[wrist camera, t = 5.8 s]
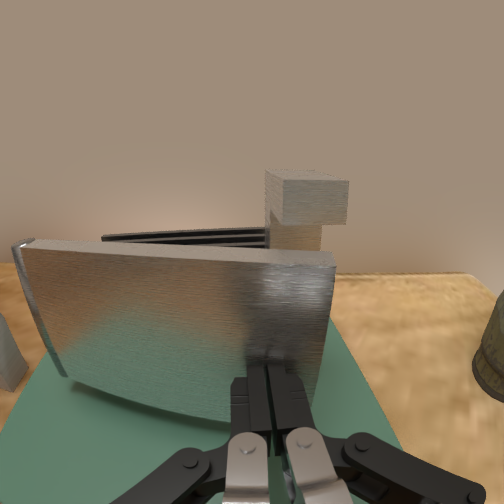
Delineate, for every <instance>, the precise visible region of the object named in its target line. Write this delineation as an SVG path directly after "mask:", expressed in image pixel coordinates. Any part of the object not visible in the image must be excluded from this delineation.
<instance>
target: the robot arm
mask: <svg viewBox="0 0 504 504" xmlns="http://www.w3.org/2000/svg"><path fill="white" fill-rule="evenodd" d="M246 370H247V377H235V378H234V380H233V382H232V384H231V386H230V404H231V405H230V409H231V435H230V438H229V440H228V441H227V442H226V443H225V444H224V445H222V446H221V447H219V448H216V449H212V450H209V451H205V452H203V451H202V450H200V449H197V448H192V447H187V448H183V449H180V450H178V451H177V452H176V453H174V454H173V455H172V456H171V457H170V458H168V459H167V460H166V461H165V462H164V463H162V464H161V465H160V466H159V467H157V468H156V469H155V470H154V471H152V472H151V473H150V474H149V475H147V476H146V477H145V478H144V479H142V480H141V481H140V482H138V483H137V484H136V485H134V486H133V487H132V488H130V489H129V490H128V491H126V492H125V493H124V494H122V495H121V496H119V497H118V498H117V499H115V500H114V501H112V502H111V503H109V504H206V503H207V502H208V501H209V500H210V499H211V498H212V497H213V496H214V495H215V494H217V493H221V492H224V494H223V501H222V504H270V501H269V490H268V457H270V450H271V436H272V440H273V448H274V455H275V456H281V462H282V467H281V472H282V476H283V480H284V485H285V489H286V493H287V497H288V501H289V504H353V501H352V498H351V496H350V493H351V494H353V495H355V496H356V497H358V498H360V499H362V500H363V501H365V502H367V503H369V504H484V502H485V499H486V491H485V489H484V487H483V486H482V485H480V484H478V483H476V482H473V481H470V480H468V479H465V478H462V477H460V476H457V475H455V474H452V473H450V472H448V471H445V470H443V469H441V468H438V467H436V466H434V465H432V464H429V463H427V462H425V461H423V460H421V459H419V458H417V457H414V456H412V455H410V454H408V453H406V452H404V451H402V450H400V449H398V448H396V447H394V446H392V445H391V444H389V443H387V442H385V441H383V440H381V439H379V438H377V437H376V436H374V435H372V434H370V433H367V432H358V433H354V434H352V435H351V436H349V437H348V438H347V439H345V438H333V437H328V436H325V435H323V434H322V433H320V432H319V431H318V430H317V428H316V427H315V424H314V420H313V417H312V413H311V409H310V406H309V402H308V399H307V395H306V392H305V388H304V384H303V381H302V380H301V378H300V377H299V376H298V375H297V374H296V373H292V374H286V372H285V368H284V364H283V363H277V364H267V366H266V384H265V377H264V370H263V365H246ZM349 492H350V493H349Z"/></svg>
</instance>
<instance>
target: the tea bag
mask: <svg viewBox="0 0 504 504" xmlns="http://www.w3.org/2000/svg"><path fill="white" fill-rule="evenodd" d="M27 370H28V366H27V364H26V362H25V360H24V358H23V357H22V355H21V353H20V351H19V349H18V347H17V345H16V343H15V340H14V338H13V336H12V334H11V332H10V330H9V327H8V325H7V323H6V320H5V318H4V317H3V315H2V314H1V313H0V388H2V389H5V390H7V391H10V392H14V390H15V389H16V387H17V385H18V384H19V382H20V380H21V379H22V377H23V376H24V374H25V373H26V371H27Z"/></svg>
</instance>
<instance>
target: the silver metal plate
mask: <svg viewBox="0 0 504 504" xmlns="http://www.w3.org/2000/svg"><path fill="white" fill-rule="evenodd" d="M11 250H12V253H13V258H14V261H15V265H16V269H17V272H18V276H19V279H20V282H21V285H22V288H23V291H24V294H25V297H26V300H27V303H28V306H29V308H30V311H31V314H32V316H33V319H34V321H35V324H36V326H37V329H38V331H39V333H40V336H41V338H42V340H43V342H44V345H45V347H46V349H47V351H48V353H49V355H50V357H51V359H52V361H53V363H54V365H55V367H56V369H57V371H58V373H59V375H60V376H62V377H65V378H68V377H69V378H71V379H74V380H76V381H78V382H81V383H83V384H86V385H88V386H91V387H94V388H96V389H99V390H102V391H105V392H107V393H110V394H113V395H116V396H119V397H122V398H125V399H129V400H132V401H135V402H139V403H142V404H146V405H149V406H153V407H157V408H160V409H164V410H168V411H173V412H177V413H181V414H186V415H191V416H196V417H201V418H206V419H212V420H218V421H225V422H231V409H230V405H231V404H230V386H231V384H232V382H233V380H234V378H235V377H247V370H246V365H263V370H264V377H265V384H266V366H267V364H277V363H283V364H284V368H285V372H286V374H292V373H296V374H297V375H298V376H299V377H300V378H301V380H302V381H303V384H304V388H305V392H306V395H307V399H308V402H309V406H310V409H311V407H312V403H313V399H314V394H315V390H316V385H317V381H318V376H319V371H320V367H321V362H322V356H323V351H324V346H325V340H326V335H327V329H328V323H329V317H330V310H331V304H332V297H333V289H334V282H335V274H336V263H335V260H334V257H333V254H332V252H325V251H304V250H283V249H261V248H239V247H216V246H193V245H169V244H145V243H121V242H95V241H69V240H41V239H35V238H28V239H24V240H21V241H19V242H16V243H14V244H13V245H12V246H11Z"/></svg>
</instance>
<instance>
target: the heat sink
mask: <svg viewBox="0 0 504 504" xmlns="http://www.w3.org/2000/svg"><path fill="white" fill-rule="evenodd" d="M348 190H349V181H347V180H344V179H341V178H337V177H334V176H331V175H328V174H324V173H321V172H317V171H313V170H265V227H248V228H247V227H246V228H220V229H197V230H177V231H159V232H141V233H125V234H110V235H103V236H102V237H101V239H102V242H121V243H145V244H169V245H193V246H216V247H239V248H261V249H283V250H304V251H320V245H321V234H322V225H342V224H343V225H344V224H346V218H347V205H348ZM311 413H312V417H313V420H314V424H315V427H316V428H317V430H318V431H319V432H320V433H322V434H323V435H325V436H328V437H333V438H345V439H347V438H348V437H349V436H351V435H352V434H354V433H358V432H367V433H370V434H372V435H374V436H376V437H377V438H379V439H381V440H383V441H385V442H387V443H389V444H391V445H392V446H394V447H396V448H398V449H400V450H402V451H403V449H402V447H401V445H400V443H399V441H398V439H397V437H396V435H395V433H394V431H393V429H392V428H391V426H390V424H389V422H388V420H387V418H386V416H385V414H384V413H383V411H382V409H381V407H380V405H379V403H378V401H377V400H376V398H375V396H374V394H373V392H372V390H371V389H370V387H369V385H368V383H367V381H366V380H365V378H364V376H363V374H362V372H361V371H360V369H359V367H358V365H357V363H356V362H355V360H354V358H353V356H352V355H351V353H350V351H349V349H348V348H347V346H346V344H345V342H344V341H343V339H342V337H341V335H340V334H339V332H338V330H337V329H336V327H335V325H334V323H333V322H332V320H331V318H330V317H329V323H328V329H327V335H326V340H325V346H324V351H323V356H322V362H321V367H320V371H319V376H318V381H317V385H316V390H315V394H314V399H313V403H312V407H311ZM230 435H231V422H225V421H218V420H212V419H206V418H201V417H196V416H191V415H186V414H181V413H177V412H173V411H168V410H164V409H160V408H157V407H153V406H149V405H146V404H142V403H139V402H135V401H132V400H129V399H125V398H122V397H119V396H116V395H113V394H110V393H107V392H105V391H102V390H99V389H96V388H94V387H91V386H88V385H86V384H83V383H81V382H78V381H76V380H74V379H71V378H69V377H68V378H65V377H62V376H60V375H59V373H58V371H57V369H56V367H55V365H54V363H53V361H52V359H51V357H50V355H49V353H48V351H47V352H46V354H45V355H44V357H43V358H42V360H41V361H40V363H39V365H38V366H37V368H36V369H35V371H34V373H33V374H32V376H31V378H30V379H29V381H28V383H27V384H26V386H25V388H24V390H23V391H22V393H21V395H20V397H19V398H18V400H17V402H16V404H15V406H14V408H13V409H12V411H11V413H10V415H9V417H8V419H7V421H6V423H5V425H4V427H3V429H2V431H1V433H0V503H2V504H109V503H111V502H112V501H114V500H115V499H117V498H118V497H119V496H121V495H122V494H124V493H125V492H126V491H128V490H129V489H130V488H132V487H133V486H134V485H136V484H137V483H138V482H140V481H141V480H142V479H144V478H145V477H146V476H147V475H149V474H150V473H151V472H152V471H154V470H155V469H156V468H157V467H159V466H160V465H161V464H162V463H164V462H165V461H166V460H167V459H168V458H170V457H171V456H172V455H173V454H174V453H176V452H177V451H178V450H180V449H183V448H187V447H192V448H197V449H200V450H202V451H203V452H205V451H209V450H212V449H216V448H219V447H221V446H222V445H224V444H225V443H226V442H227V441H228V440H229V438H230ZM281 467H282V462H281V456H275V455H274V448H273V440H272V436H271V450H270V457H268V490H269V501H270V504H289V501H288V497H287V493H286V489H285V485H284V480H283V476H282V472H281ZM349 493H350V492H349ZM223 494H224V492H221V493H217V494H215V495H214V496H213V497H212V498H211V499H210V500H209V501H208V502H207V503H206V504H222V501H223ZM350 496H351V498H352V501H353V504H369V503H367V502H365V501H363V500H362V499H360V498H358V497H356V496H355V495H353V494H351V493H350Z"/></svg>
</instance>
